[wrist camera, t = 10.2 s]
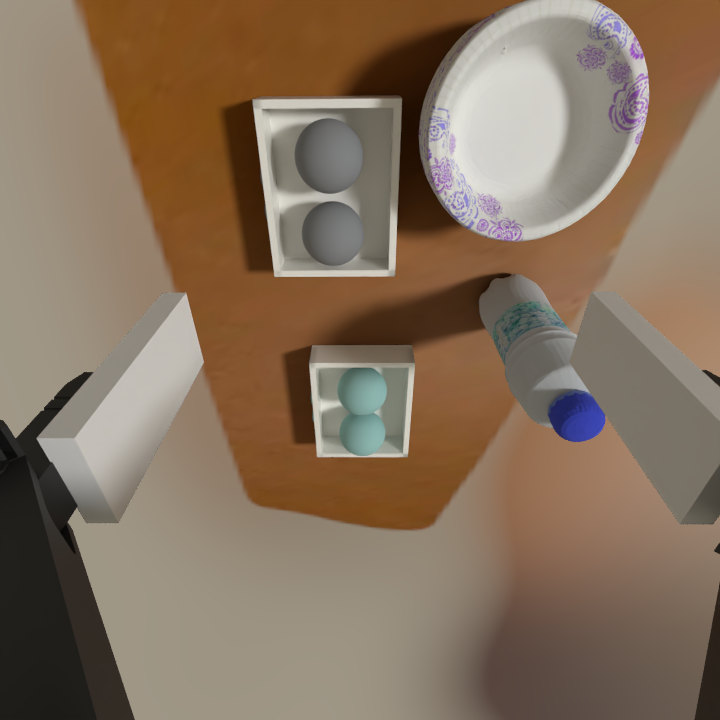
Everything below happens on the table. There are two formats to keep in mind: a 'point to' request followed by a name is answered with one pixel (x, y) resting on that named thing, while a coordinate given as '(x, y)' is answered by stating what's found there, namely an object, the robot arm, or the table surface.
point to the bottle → (539, 358)
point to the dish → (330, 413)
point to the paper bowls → (534, 117)
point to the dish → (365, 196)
